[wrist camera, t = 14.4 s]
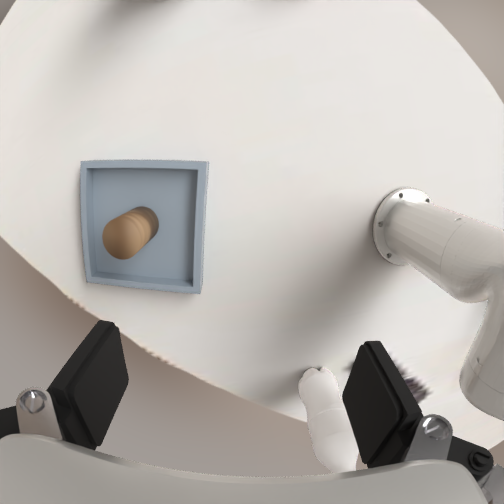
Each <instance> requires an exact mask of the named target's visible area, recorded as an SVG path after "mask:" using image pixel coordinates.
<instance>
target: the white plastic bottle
mask: <svg viewBox="0 0 504 504" xmlns="http://www.w3.org/2000/svg"><path fill="white" fill-rule="evenodd" d="M298 390H299V395H300V398H301V400H302V401H303V403H304V405H305V408H306V411H307V418H308V423H307V427H308V430H309V432H310V436H311V440H312V444H313V451H314V454H315V456H316V458H317V459H318V460H319V461H320V462H321V463H322V464H323V465H324V466H325V467H326V468H328V469H329V470H330V471H331V472H332V473H333V474H334V473H342V472H349V471H356V460H357V457H358V453H359V449H358V446H357V443H356V440H355V437H354V433H353V430H352V427H351V424H350V421H349V418H348V415H347V412H346V409H345V406H344V403H343V401H342V399H341V397H340V394H339V385H338V382H337V380H336V378H335V376H334V375H333V373H332V372H331V371H330V370H328V369H326V368H324V367H322V368H321V369H320V371H318V370H317V369H316V368H310V369H308V370H306V371H305V373H304V374H303V377H302V378H301V379H300V381H299V384H298Z"/></svg>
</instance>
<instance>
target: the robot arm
mask: <svg viewBox="0 0 504 504" xmlns="http://www.w3.org/2000/svg"><path fill="white" fill-rule="evenodd" d="M378 223H379V224H378ZM373 237H374V242H375V245H376V247H377V249H378V251H379V253H380V254H381V255H382V256H383V257H384V258H385V259H386V260H387V261H389V262H391V263H393V264H396V265H409V264H410V265H411V266H412V267H414V268H415V269H417V270H418V271H419V272H421V273H422V274H423V275H425V276H426V277H427V278H429V279H430V280H431V281H433V282H434V283H435V284H437V285H438V286H439V287H440V288H442V289H443V290H444V291H446V292H447V293H448V294H450V295H451V296H452V297H454V298H455V299H457V300H459V301H461V302H465V303H477V302H481V301H485V300H488V305H487V308H486V311H485V314H484V317H483V320H482V323H481V325H480V328H479V330H478V332H477V335H476V337H475V339H474V342H473V344H472V346H471V348H470V350H469V352H468V354H467V356H466V359H465V361H464V363H463V366H462V369H461V372H460V380H459V381H460V387H461V390H462V393H463V394H464V396H465V397H466V399H467V400H468V401H469V402H470V403H471V404H472V405H473V406H475V407H476V408H478V409H479V410H481V411H483V412H484V413H486V414H488V415H491V416H493V417H495V418H498V419H500V420H503V421H504V230H502V229H499V228H497V227H494V226H491V225H489V224H486V223H484V222H481V221H478V220H475V219H473V218H470V217H467V216H465V215H462V214H459V213H457V212H454V211H451V210H448V209H445V208H442V207H439V206H436V205H434V203H433V201H432V200H431V198H430V197H429V196H428V195H427V194H426V193H424V192H423V191H421V190H418V189H415V188H411V187H408V188H401V189H398V190H396V191H394V192H392V193H391V194H389V195H388V196H387V197H386V198H385V199H384V200H383V202H382V203H381V205H380V206H379V208H378V210H377V213H376V215H375V219H374V223H373ZM128 380H129V379H128V373H127V369H126V364H125V359H124V354H123V349H122V344H121V339H120V332H119V328H118V327H116V326H115V324H114V323H113V322H109V321H103V320H99V321H98V322H97V324H96V325H95V326H94V327H93V329H92V330H91V331H90V333H89V334H88V335H87V336H86V338H85V339H84V340H83V342H82V343H81V344H80V345H79V347H78V348H77V349H76V351H75V352H74V353H73V355H72V356H71V357H70V359H69V360H68V361H67V363H66V364H65V365H64V367H63V368H62V369H61V371H60V372H59V374H58V375H57V376H56V378H55V379H54V380H53V382H52V383H51V385H50V386H49V388H48V389H47V390H45V389H43V388H40V387H30V388H27V389H25V390H23V391H22V392H21V393H20V394H19V395H18V397H17V399H16V406H13V407H9V408H5V409H1V410H0V504H504V468H503V467H502V466H500V465H499V464H496V465H495V466H494V465H493V457H492V455H491V453H490V452H489V451H488V450H487V449H485V448H483V447H481V446H478V445H475V444H473V443H470V442H467V441H465V440H462V439H460V438H457V437H455V436H452V434H453V429H452V426H451V424H450V423H449V421H448V420H447V419H445V418H444V417H442V416H440V415H435V414H430V415H427V416H425V417H424V416H423V414H422V413H421V412H422V411H421V409H420V407H419V405H418V404H417V402H416V400H415V398H414V397H413V395H412V393H411V391H410V390H409V388H408V386H407V385H406V383H405V381H404V379H403V378H402V376H401V374H400V373H399V371H398V369H397V368H396V366H395V364H394V363H393V361H392V359H391V358H390V356H389V355H388V353H387V351H386V350H385V348H384V347H383V345H382V343H381V342H380V341H366V342H365V343H364V345H361V346H360V348H359V350H358V353H357V356H356V359H355V362H354V365H353V367H352V370H351V373H350V376H349V378H348V381H347V383H346V386H345V389H344V391H343V395H342V399H343V403H344V406H345V409H346V412H347V415H348V418H349V421H350V424H351V427H352V430H353V433H354V437H355V440H356V443H357V446H358V449H359V452H360V456H361V458H362V462H363V463H364V464H367V467H368V469H363V470H356V471H349V472H342V473H334V474H324V475H314V476H298V477H239V476H224V475H212V474H203V473H195V472H187V471H181V470H174V469H168V468H162V467H157V466H153V465H148V464H143V463H139V462H134V461H131V460H126V459H123V458H119V457H115V456H112V455H108V454H104V453H101V452H98V451H95V449H96V447H97V446H100V445H101V444H102V442H103V439H104V437H105V435H106V433H107V430H108V428H109V426H110V423H111V421H112V419H113V416H114V414H115V412H116V410H117V407H118V405H119V403H120V401H121V399H122V396H123V394H124V392H125V390H126V387H127V385H128Z"/></svg>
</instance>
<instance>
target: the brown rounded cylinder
mask: <svg viewBox="0 0 504 504" xmlns="http://www.w3.org/2000/svg"><path fill="white" fill-rule="evenodd" d="M158 228H159V221H158V218H157V215H156V214H155V212H154V211H153V210H151V209H150V208H148V207H144V206H140V207H136V208H134V209H132V210H130V211H128V212H126V213H124V214H122V215H120V216H118V217H116V218H114V219H113V220H111V221H109V222H108V223H107V224H106V226H105V227H104V230H103V234H102V240H103V244H104V247H105V249H106V250H107V252H108V253H109V254H110V255H111V256H113V257H115V258H117V259H121V260H126V259H129V258H131V257H133V256H134V255H135V254H136V253H137V252H138V251H139V250H140V249H141V248H143V247H144V246H145V245H146V244H147V243H148V242H149V241H150V240H151V239H152V238H153V237H154V236H155V235H156V234H157V232H158Z"/></svg>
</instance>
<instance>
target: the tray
mask: <svg viewBox="0 0 504 504" xmlns="http://www.w3.org/2000/svg"><path fill="white" fill-rule="evenodd" d="M208 170H209V162H204V161H182V160H91V161H81V174H80V200H81V227H82V241H83V253H84V263H85V272H86V280H87V282H90V283H98V284H106V285H115V286H123V287H132V288H141V289H151V290H161V291H171V292H182V293H194V294H200V293H201V289H202V282H203V254H204V233H205V214H206V198H207V183H208ZM140 206H144V207H148V208H150V209H151V210H153V211H154V212H155V214H156V215H157V218H158V221H159V228H158V232H157V234H156V235H155V236H154V237H153V238H152V239H151V240H150V241H149V242H148V243H147V244H146V245H145V246H144V247H143V248H141V249H140V250H139V251H138V252H137V253H136V254H135V255H134V256H133V257H131V258H129V259H126V260H121V259H117V258H115V257H113V256H111V255H110V254H109V253H108V252H107V250H106V249H105V247H104V244H103V240H102V234H103V230H104V227H105V226H106V224H107V223H108V222H109V221H111V220H113V219H114V218H116V217H118V216H120V215H122V214H124V213H126V212H128V211H130V210H132V209H134V208H136V207H140Z"/></svg>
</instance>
